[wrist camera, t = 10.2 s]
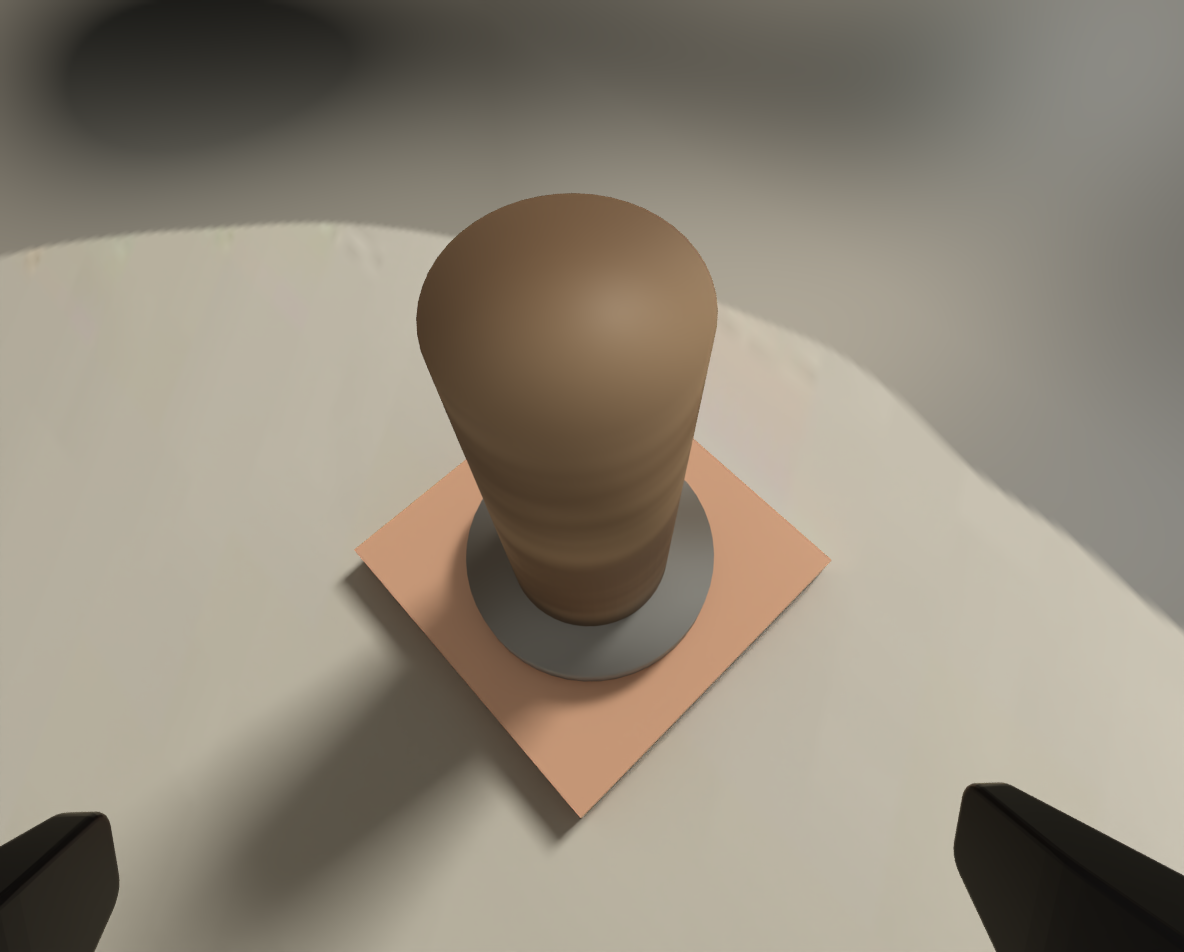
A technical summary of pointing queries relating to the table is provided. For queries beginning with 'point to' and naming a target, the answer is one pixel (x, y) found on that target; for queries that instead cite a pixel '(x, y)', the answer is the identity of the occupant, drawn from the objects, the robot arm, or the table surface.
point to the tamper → (577, 426)
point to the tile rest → (594, 708)
